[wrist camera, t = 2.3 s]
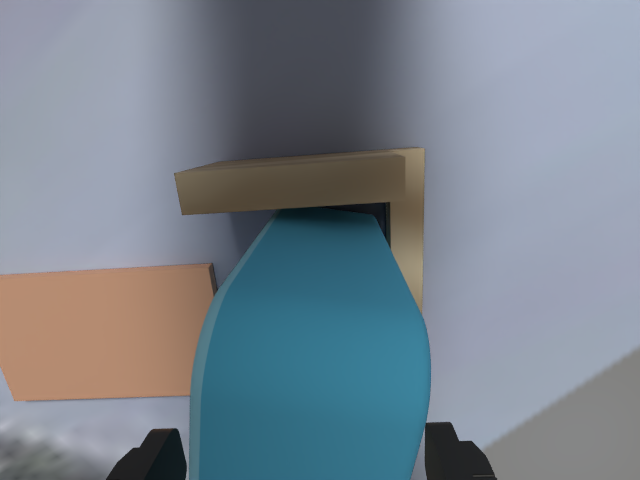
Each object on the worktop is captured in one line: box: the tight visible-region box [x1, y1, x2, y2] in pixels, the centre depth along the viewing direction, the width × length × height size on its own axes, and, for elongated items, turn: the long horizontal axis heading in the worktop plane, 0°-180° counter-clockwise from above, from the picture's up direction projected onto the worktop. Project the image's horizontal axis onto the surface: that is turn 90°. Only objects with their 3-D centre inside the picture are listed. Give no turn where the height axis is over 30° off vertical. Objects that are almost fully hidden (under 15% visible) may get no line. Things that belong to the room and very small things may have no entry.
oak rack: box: [174, 147, 425, 314], centre depth 17 cm, size 16×10×5 cm, turn 4°
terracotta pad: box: [0, 263, 217, 401], centre depth 20 cm, size 8×14×1 cm, turn 94°
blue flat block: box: [189, 207, 431, 480], centre depth 13 cm, size 12×4×12 cm, turn 173°
